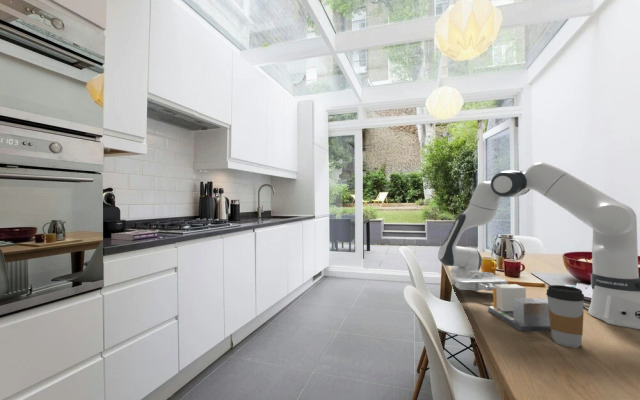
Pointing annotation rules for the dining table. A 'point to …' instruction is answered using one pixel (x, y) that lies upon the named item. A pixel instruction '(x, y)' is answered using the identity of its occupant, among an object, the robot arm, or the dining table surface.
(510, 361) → the dining table surface
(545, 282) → the dining table surface
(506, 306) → the cream rectangular block
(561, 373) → the dining table surface
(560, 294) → the coffee cup
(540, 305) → the base
